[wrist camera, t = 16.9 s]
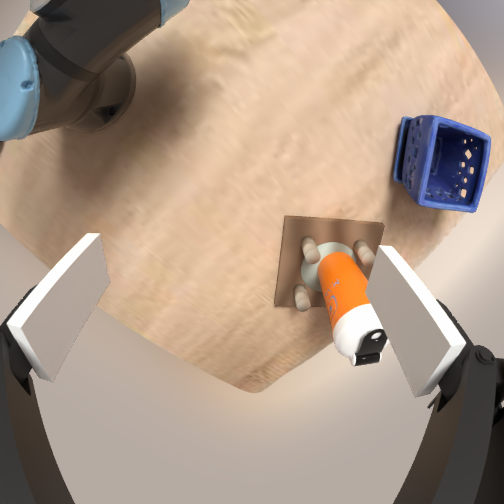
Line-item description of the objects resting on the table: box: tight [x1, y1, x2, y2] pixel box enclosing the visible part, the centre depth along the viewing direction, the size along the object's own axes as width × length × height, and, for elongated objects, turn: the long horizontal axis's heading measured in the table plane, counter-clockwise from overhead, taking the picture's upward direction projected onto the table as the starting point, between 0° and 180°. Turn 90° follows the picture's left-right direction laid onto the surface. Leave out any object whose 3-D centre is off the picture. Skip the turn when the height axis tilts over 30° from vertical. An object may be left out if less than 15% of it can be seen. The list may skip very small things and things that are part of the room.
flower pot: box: [393, 115, 491, 213], centre depth 35 cm, size 13×13×12 cm
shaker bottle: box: [317, 252, 390, 366], centre depth 41 cm, size 9×9×20 cm
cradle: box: [274, 215, 385, 311], centre depth 48 cm, size 18×18×6 cm
